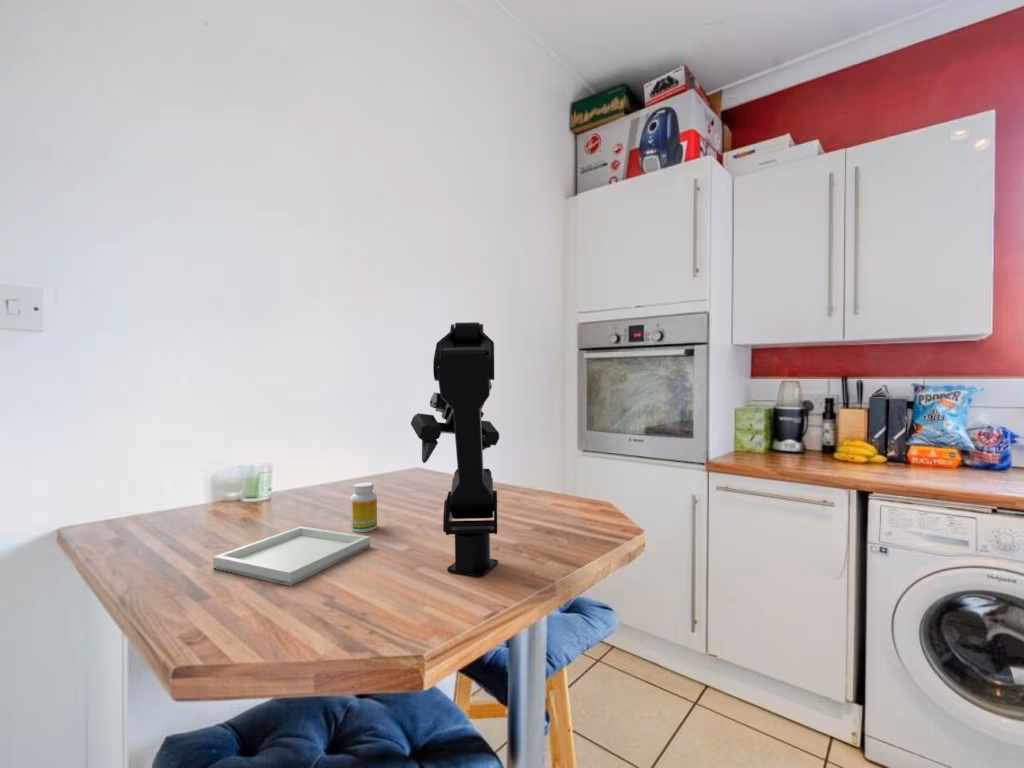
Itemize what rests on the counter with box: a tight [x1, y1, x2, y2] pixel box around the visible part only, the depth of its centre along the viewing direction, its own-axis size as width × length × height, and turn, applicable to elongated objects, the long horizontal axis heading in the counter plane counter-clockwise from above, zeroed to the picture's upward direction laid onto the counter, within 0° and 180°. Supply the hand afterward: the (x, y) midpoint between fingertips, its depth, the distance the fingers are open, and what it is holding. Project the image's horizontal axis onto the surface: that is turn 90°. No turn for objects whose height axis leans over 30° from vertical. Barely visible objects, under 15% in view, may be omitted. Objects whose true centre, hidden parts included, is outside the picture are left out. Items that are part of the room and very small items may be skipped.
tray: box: [212, 525, 371, 586], centre depth 82 cm, size 18×18×2 cm
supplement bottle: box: [350, 481, 378, 533], centre depth 98 cm, size 5×5×10 cm
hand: (442, 462), depth 97 cm, fingers open, 9 cm apart
